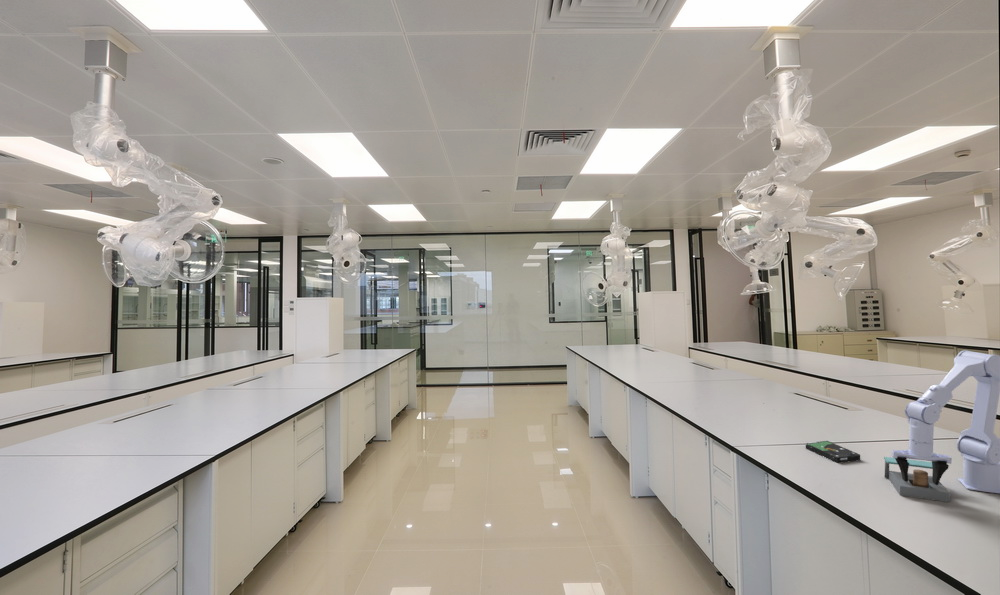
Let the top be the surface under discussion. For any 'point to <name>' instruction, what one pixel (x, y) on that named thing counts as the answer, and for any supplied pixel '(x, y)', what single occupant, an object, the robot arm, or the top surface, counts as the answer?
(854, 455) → the disk drive
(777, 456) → the top surface
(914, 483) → the peg
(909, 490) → the socket block
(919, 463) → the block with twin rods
